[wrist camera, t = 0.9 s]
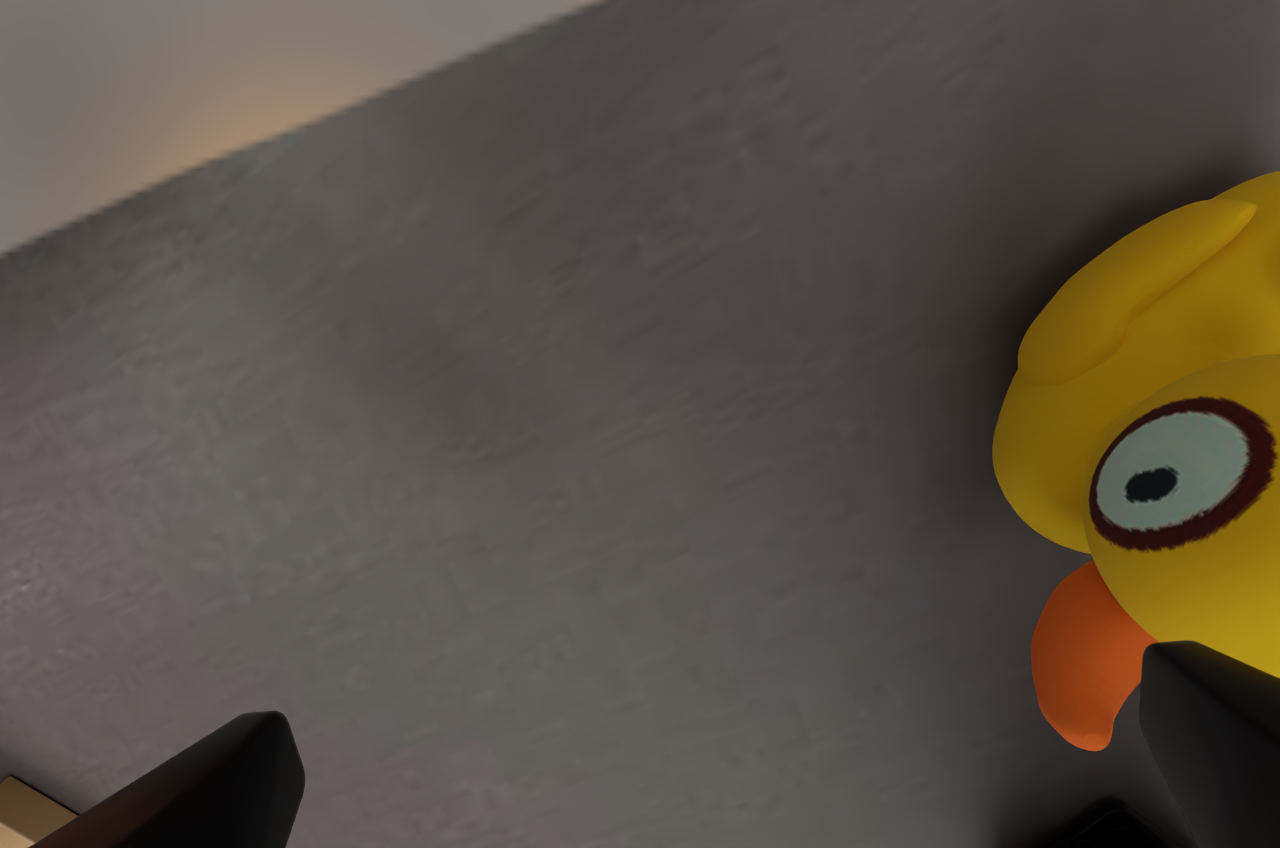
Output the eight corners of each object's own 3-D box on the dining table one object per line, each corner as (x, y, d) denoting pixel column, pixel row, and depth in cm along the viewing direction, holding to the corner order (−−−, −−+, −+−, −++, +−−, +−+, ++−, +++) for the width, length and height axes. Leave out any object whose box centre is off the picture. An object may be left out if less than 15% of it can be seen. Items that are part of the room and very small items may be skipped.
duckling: (1007, 578, 23) (1221, 888, 14) (858, 471, 22) (978, 723, 13) (1352, 243, 20) (1952, 352, 10) (1189, 102, 19) (1682, 80, 9)
